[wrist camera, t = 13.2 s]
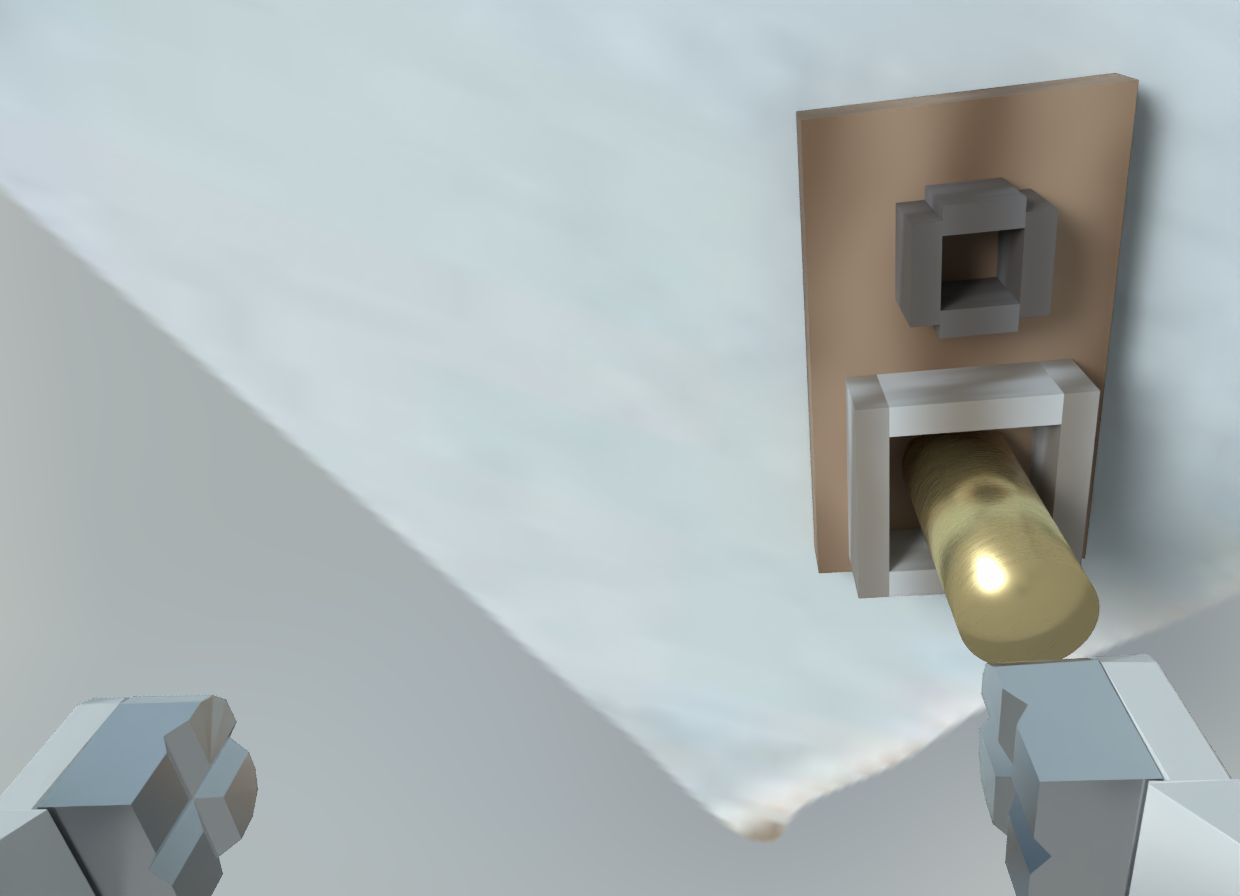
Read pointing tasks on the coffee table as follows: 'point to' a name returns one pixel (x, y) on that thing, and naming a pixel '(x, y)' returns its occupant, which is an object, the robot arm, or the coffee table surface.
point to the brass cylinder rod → (997, 549)
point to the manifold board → (957, 300)
